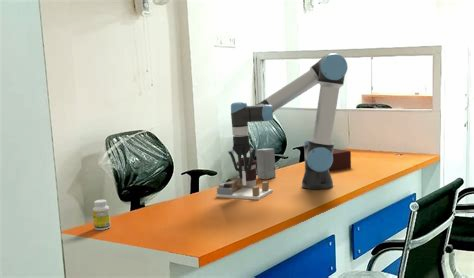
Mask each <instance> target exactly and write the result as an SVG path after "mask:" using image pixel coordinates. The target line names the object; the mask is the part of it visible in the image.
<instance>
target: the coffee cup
mask: <svg viewBox="0 0 474 278" xmlns="http://www.w3.org/2000/svg"><path fill="white" fill-rule="evenodd" d="M249 157H250V156H247V167H248V163H249ZM241 160H242V171H244V160H243V157H241ZM236 164H237V167H238V168H239V166H238V161H236ZM241 179H242V178H241ZM254 186H257V159H254V158H253V161H252V167H251V169H250V170H248V178H246V185H244V186H243V188H252V187H254Z"/></svg>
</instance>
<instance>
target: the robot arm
mask: <svg viewBox="0 0 474 278" xmlns="http://www.w3.org/2000/svg"><path fill="white" fill-rule="evenodd" d="M347 72H348V63H347V60H346V59H345V57H344V56H343V55H341V54H339V53H328V54H325V55H324V56H322V57H321V58H320V59H319V60H318V61H317V62H316V63H314V64H312V66H310V67H309V70H308V71H306V72H305V73H303V74H302V75H300V76H298V77H297V78H296V79H294V80H292V81H291V82H290V83H287V84H286V85H285V86H283V87H281V88H280V89H278V90H277V91H275V92H274V93H272V94H271V95H269V96H268V97H266V98H265V99H263V100H261V101H260V102H257V103H256V104H255V105H248V104H247V102H246V101H238V102H232V103H231V104H230V118H231V120H230V121H231V130H232V131H231V132H232V144H233V145H232V149H231V150H228V151H227V153H228V154H229V155H230V159H231V161H232V164H233V167H234V170H235V171H236V172H238V176H239V177H240V179H241V178H242V185H243V186H244V185H246V178H248V170H250V169H251V167H252V161H253V159H254V156H255V155H254V154H255V153H256V150H257V149H255V148H252V147H251V146H252V145H250V136H249V132H250V131H249V123H255V122H256V123H257V122H258V123H259V122H269V121H270V122H271V121H273V120H274V113H275V112H276V111H277V110H279V109H281V108H283V106H286V104H288V103H289V102H292V101H293V100H295V99H296V98H298V97H299V96H301V95H303V94H304V93H305V92H307V91H308V90H310V89H312V88H313V87H315V86H316V85H318V84H319V85H320V88H319V93H318V100H317V101H318V102H317V108H316V115H315V121H314V128H313V134H312V137H311V138H310V139H309V140H305V141H304V144H303V149H304V174H303V178H302V181H301V187H302V188H304V189H308V190H325V189H331V188H332V187H334V181H333V178H332V175H331V173H330V172H331V171H329V168H330V167H331V165H332V163H333V155H332V154H333V149H335V148H334V147H335V144H334V143H335V142H333V140H332V139H333V131H334V126H335V119H336V118H335V117H336V114H337V113H336V112H337V107H338V99H339V95H340V94H339V93H340V88H341V87H342V86H344V82H345V78H346V74H347ZM249 152H250V153H249ZM234 154H236V156H237V161H236V158H235V156H234ZM248 154H249V156H248ZM247 157H249V163H248V167H247ZM241 158H243V160H244V171H242V160H241ZM237 162H238V166H239V168H238V166H237Z"/></svg>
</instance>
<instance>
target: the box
mask: <svg viewBox="0 0 474 278" xmlns="http://www.w3.org/2000/svg"><path fill="white" fill-rule="evenodd" d="M332 155H333V163H332V165H331V167H330V168H329V172H336V171H341V170H346V169H351V168H352V157H351V156H352V154H351V151H350V150H346V149H345V150H344V149H340V148H333V154H332Z"/></svg>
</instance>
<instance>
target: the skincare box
mask: <svg viewBox="0 0 474 278" xmlns="http://www.w3.org/2000/svg"><path fill="white" fill-rule="evenodd" d="M255 150H256V151H255V153H256V161H257V164H256V177H257V179H263V180H269V179H273V178H276V158H275V148H267V147H266V148H260V149H255Z"/></svg>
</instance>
